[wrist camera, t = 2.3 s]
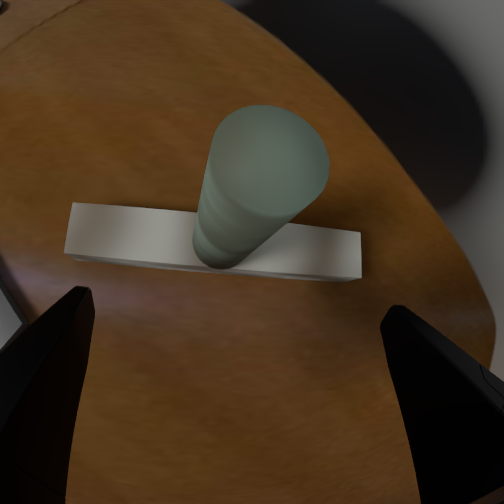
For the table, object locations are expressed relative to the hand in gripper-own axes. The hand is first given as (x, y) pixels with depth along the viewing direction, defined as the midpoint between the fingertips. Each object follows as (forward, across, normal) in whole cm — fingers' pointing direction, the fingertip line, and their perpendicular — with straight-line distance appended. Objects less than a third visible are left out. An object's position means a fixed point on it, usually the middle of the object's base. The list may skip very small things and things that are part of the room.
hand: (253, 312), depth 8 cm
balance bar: (+10, 0, +5) cm, 12 cm away
